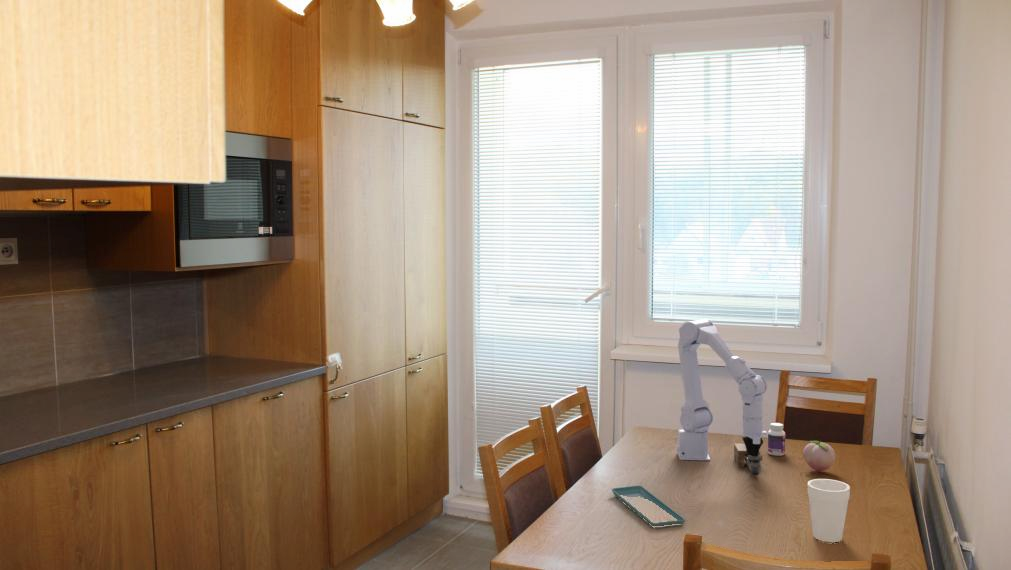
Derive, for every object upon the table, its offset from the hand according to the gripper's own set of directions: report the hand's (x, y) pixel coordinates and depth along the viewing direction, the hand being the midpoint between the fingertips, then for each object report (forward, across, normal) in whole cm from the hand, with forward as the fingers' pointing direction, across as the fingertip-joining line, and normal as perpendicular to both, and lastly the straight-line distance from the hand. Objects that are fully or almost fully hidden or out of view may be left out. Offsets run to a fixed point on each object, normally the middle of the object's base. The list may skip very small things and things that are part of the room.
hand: (752, 461), depth 244 cm
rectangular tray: (+4, -35, +33) cm, 48 cm away
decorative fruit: (+4, +2, -20) cm, 20 cm away
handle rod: (+2, +2, 0) cm, 3 cm away
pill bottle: (+3, +20, -11) cm, 23 cm away
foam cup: (+4, -50, -9) cm, 51 cm away
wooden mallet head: (+3, +9, 0) cm, 10 cm away
